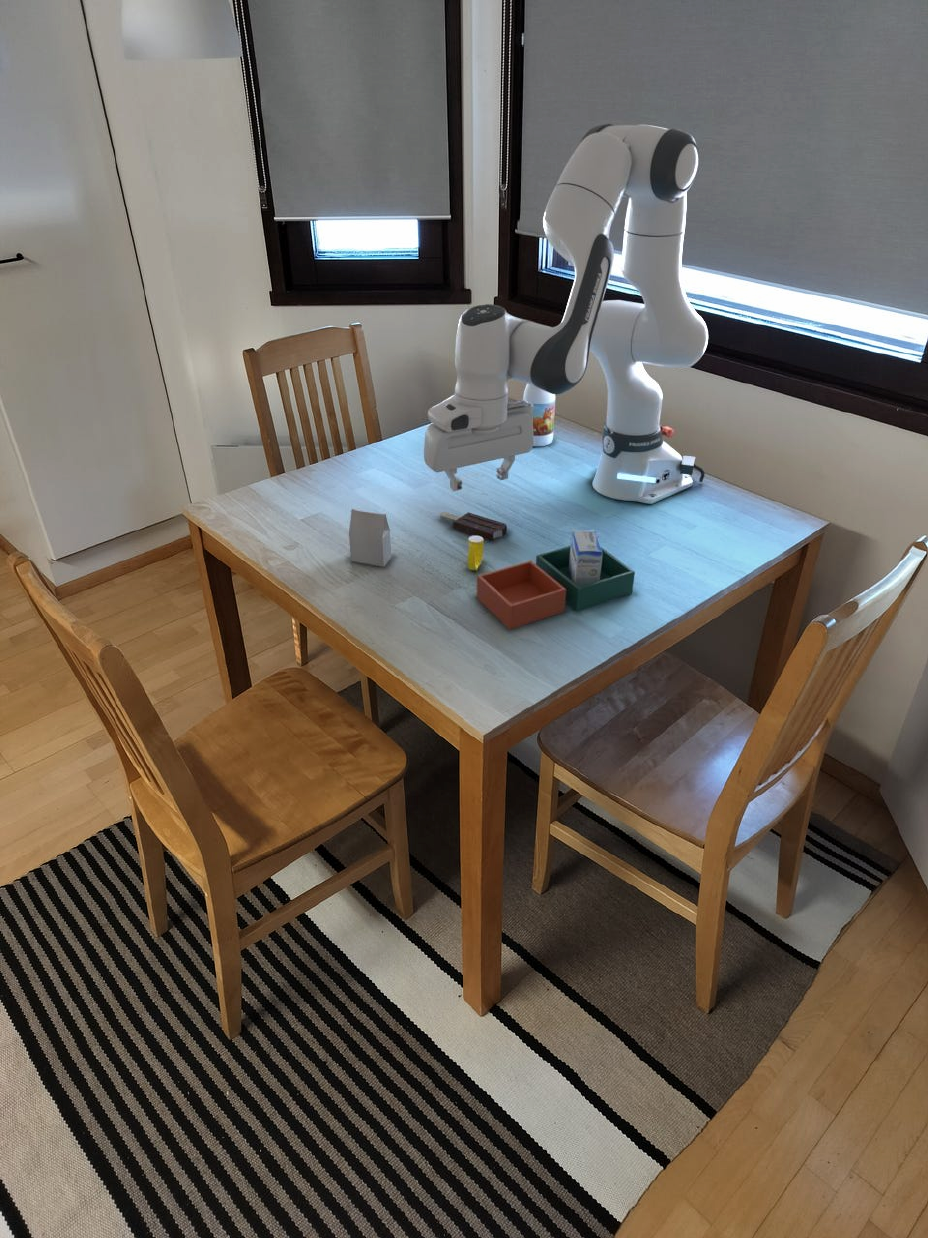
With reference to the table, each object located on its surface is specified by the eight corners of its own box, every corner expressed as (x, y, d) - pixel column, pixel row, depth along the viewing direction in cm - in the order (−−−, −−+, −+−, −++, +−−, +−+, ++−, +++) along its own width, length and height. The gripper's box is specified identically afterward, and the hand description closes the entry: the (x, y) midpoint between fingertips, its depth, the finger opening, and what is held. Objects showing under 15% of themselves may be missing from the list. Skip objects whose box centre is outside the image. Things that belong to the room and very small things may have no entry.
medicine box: (567, 571, 162) (571, 529, 157) (591, 570, 162) (595, 529, 157) (574, 594, 155) (577, 551, 150) (598, 593, 156) (603, 551, 151)
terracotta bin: (529, 581, 160) (530, 560, 157) (564, 611, 152) (566, 589, 149) (476, 597, 155) (476, 575, 153) (509, 629, 147) (510, 606, 145)
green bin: (588, 560, 166) (591, 539, 164) (632, 593, 157) (635, 571, 154) (535, 576, 161) (536, 555, 159) (576, 611, 152) (578, 589, 149)
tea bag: (383, 566, 164) (381, 519, 158) (351, 560, 166) (347, 513, 160) (391, 557, 167) (389, 510, 161) (358, 551, 169) (355, 505, 163)
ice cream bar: (433, 522, 179) (495, 542, 172) (433, 515, 178) (495, 535, 171) (448, 512, 182) (509, 532, 175) (448, 505, 181) (509, 524, 175)
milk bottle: (519, 445, 211) (522, 364, 200) (522, 433, 218) (526, 353, 206) (551, 448, 210) (556, 365, 199) (553, 435, 217) (559, 355, 205)
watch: (478, 575, 161) (478, 547, 158) (463, 573, 162) (463, 545, 159) (486, 560, 166) (487, 532, 163) (472, 558, 167) (473, 530, 163)
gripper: (523, 392, 153) (519, 466, 161) (419, 412, 145) (420, 488, 152) (543, 403, 148) (538, 478, 156) (436, 424, 140) (437, 502, 148)
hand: (479, 483), depth 154 cm, fingers open, 8 cm apart
